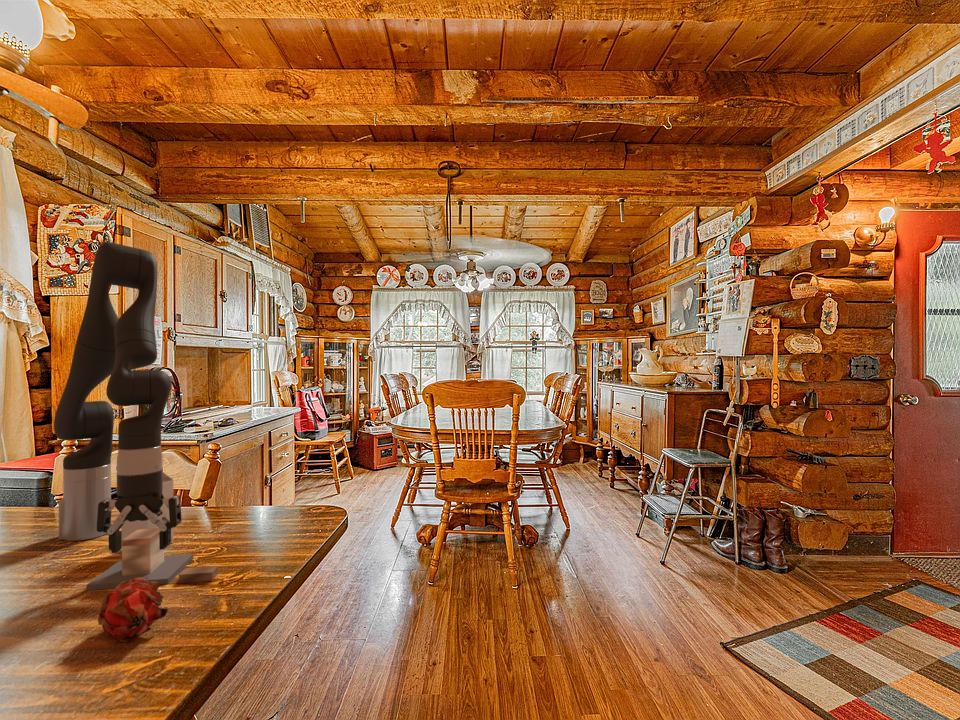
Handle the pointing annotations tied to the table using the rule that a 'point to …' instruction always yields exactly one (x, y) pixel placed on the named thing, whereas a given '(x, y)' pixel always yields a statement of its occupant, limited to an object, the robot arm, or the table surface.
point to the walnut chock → (198, 574)
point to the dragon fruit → (131, 608)
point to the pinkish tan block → (141, 552)
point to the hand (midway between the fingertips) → (140, 549)
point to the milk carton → (136, 525)
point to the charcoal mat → (160, 574)
